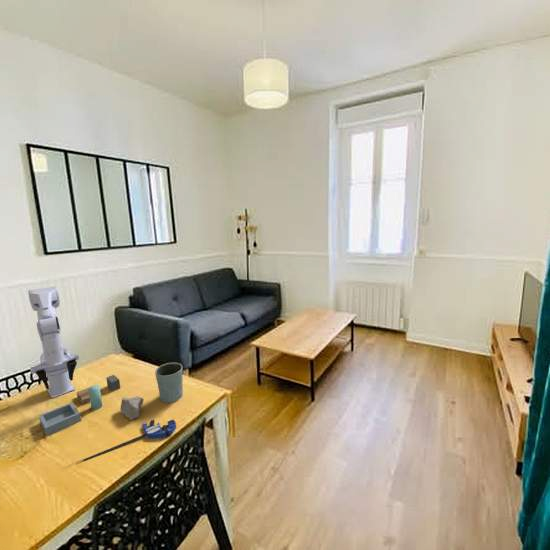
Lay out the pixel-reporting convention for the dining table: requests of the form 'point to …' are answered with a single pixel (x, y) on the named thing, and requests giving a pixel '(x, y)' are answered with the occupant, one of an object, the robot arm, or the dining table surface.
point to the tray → (59, 418)
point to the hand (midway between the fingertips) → (59, 383)
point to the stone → (131, 407)
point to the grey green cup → (169, 382)
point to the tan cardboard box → (84, 396)
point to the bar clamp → (150, 433)
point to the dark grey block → (113, 382)
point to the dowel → (95, 397)
